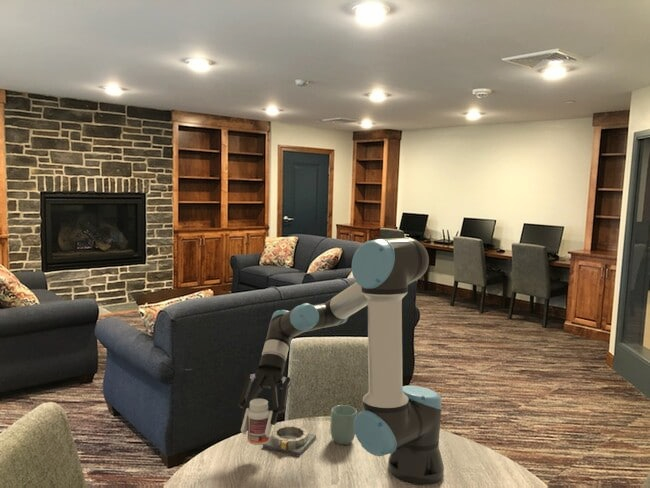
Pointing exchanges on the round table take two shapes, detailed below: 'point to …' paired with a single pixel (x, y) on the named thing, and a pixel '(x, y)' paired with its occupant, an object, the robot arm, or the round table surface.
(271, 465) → the round table surface
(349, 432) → the cup
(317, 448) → the round table surface
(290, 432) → the hub plate
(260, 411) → the pill bottle
